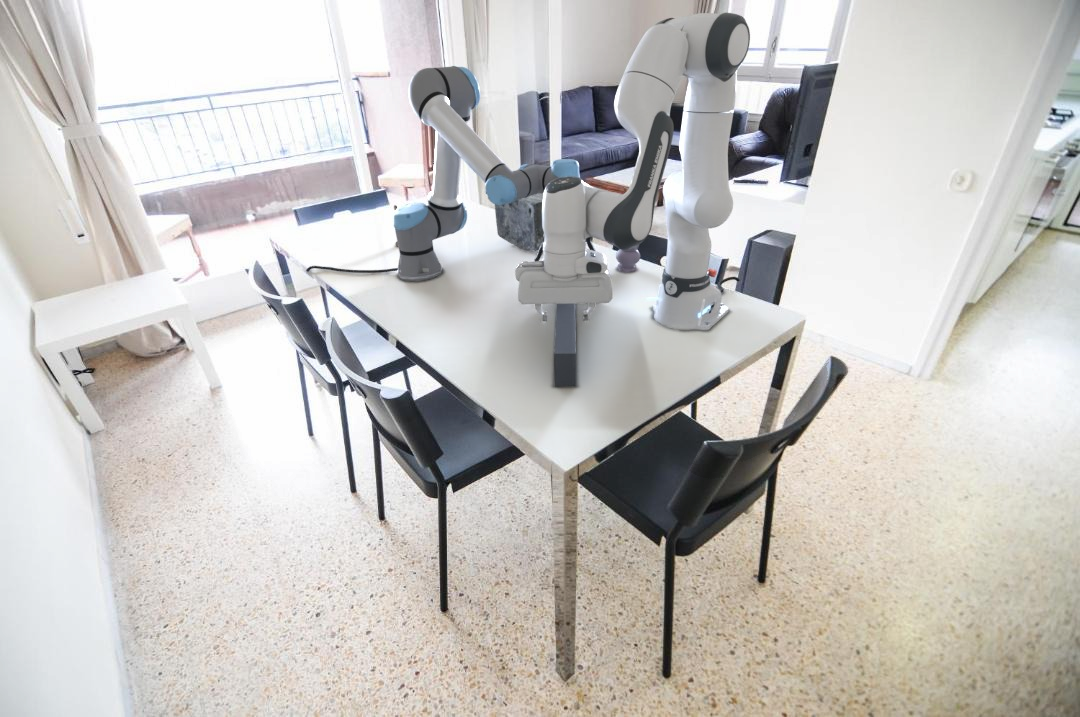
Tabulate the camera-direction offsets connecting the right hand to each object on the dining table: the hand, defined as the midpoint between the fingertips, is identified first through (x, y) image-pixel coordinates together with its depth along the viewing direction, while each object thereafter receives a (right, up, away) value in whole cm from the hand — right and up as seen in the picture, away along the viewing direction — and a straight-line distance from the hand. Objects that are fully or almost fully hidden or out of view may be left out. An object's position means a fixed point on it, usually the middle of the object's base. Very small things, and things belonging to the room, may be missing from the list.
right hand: (565, 320), depth 110 cm
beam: (+2, -1, +26) cm, 26 cm away
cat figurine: (+25, +23, +63) cm, 71 cm away
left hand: (+3, +14, +43) cm, 45 cm away
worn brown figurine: (-60, +39, +96) cm, 119 cm away
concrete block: (-12, +36, +87) cm, 94 cm away
